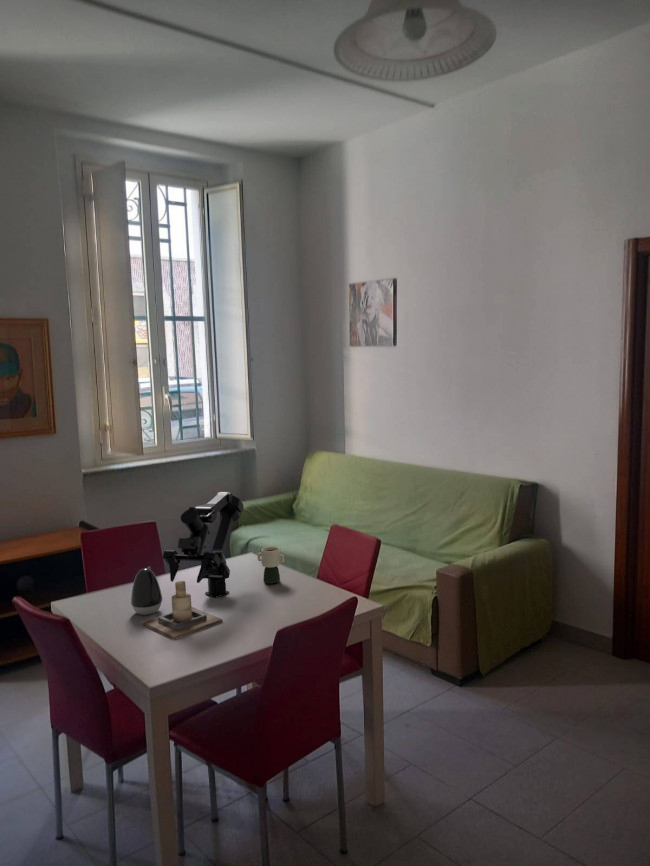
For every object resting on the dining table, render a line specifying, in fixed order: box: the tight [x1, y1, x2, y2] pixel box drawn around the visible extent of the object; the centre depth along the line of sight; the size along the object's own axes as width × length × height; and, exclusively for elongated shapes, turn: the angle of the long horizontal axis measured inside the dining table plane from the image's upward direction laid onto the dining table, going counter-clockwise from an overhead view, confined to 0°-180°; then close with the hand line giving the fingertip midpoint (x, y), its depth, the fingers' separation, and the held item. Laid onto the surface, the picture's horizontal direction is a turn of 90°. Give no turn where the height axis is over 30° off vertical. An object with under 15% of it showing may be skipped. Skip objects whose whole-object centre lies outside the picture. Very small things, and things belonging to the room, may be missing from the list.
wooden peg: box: [171, 580, 192, 624], centre depth 211 cm, size 6×6×12 cm
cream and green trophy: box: [257, 545, 285, 584], centre depth 249 cm, size 11×7×13 cm, turn 71°
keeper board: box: [142, 606, 223, 641], centre depth 212 cm, size 18×18×2 cm
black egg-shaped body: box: [130, 566, 163, 616], centre depth 223 cm, size 10×10×15 cm
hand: (184, 581), depth 214 cm, fingers open, 9 cm apart
